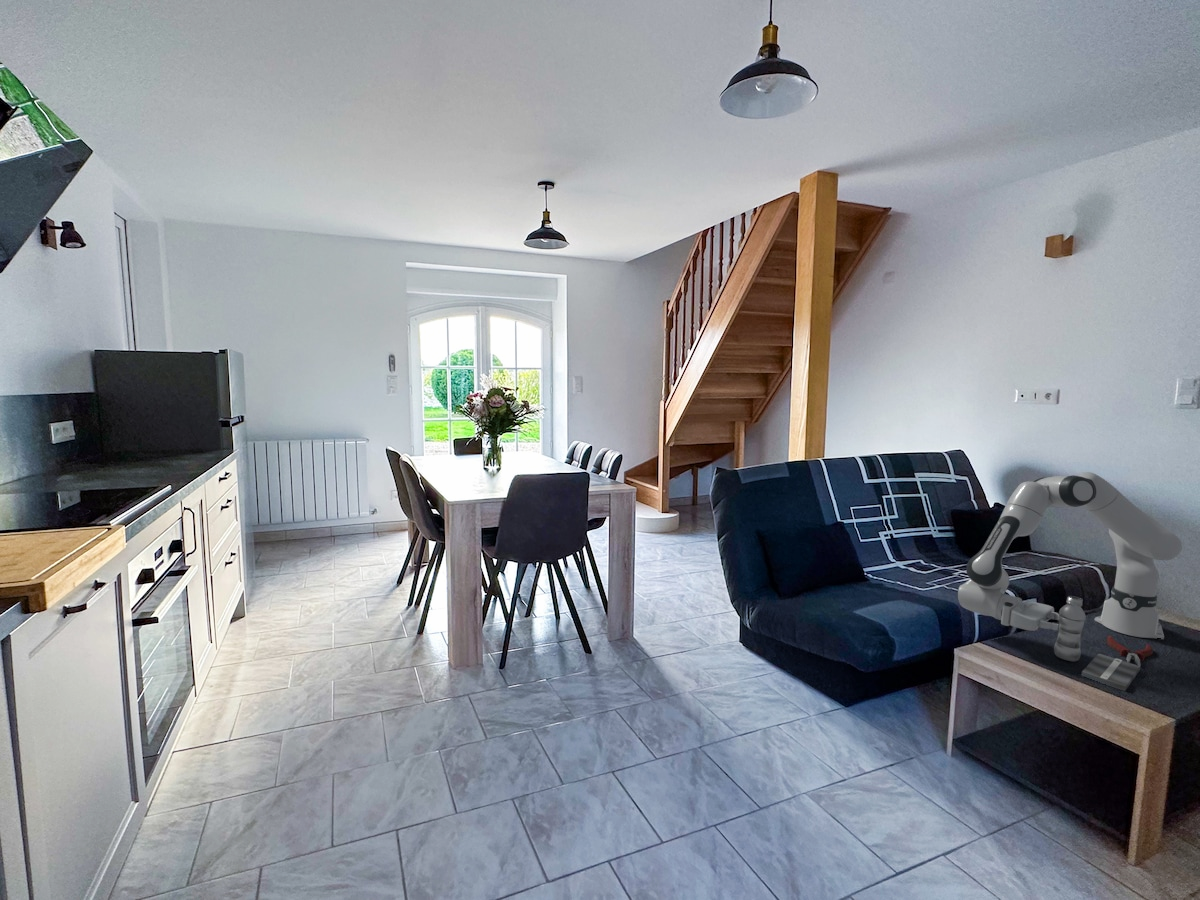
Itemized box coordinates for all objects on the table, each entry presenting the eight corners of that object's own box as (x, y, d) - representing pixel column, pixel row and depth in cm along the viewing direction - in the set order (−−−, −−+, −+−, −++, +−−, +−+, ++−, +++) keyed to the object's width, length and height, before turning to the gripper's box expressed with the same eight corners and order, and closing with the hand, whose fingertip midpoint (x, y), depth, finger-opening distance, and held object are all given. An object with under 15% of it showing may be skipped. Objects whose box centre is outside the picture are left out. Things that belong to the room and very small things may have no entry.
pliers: (1109, 662, 188) (1110, 654, 188) (1105, 640, 204) (1107, 633, 204) (1158, 674, 182) (1160, 666, 181) (1150, 651, 198) (1152, 644, 197)
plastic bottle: (1072, 665, 184) (1082, 603, 181) (1048, 656, 190) (1057, 595, 187) (1083, 661, 187) (1093, 600, 184) (1059, 652, 193) (1068, 592, 190)
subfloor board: (1097, 657, 190) (1098, 652, 190) (1139, 670, 183) (1140, 665, 182) (1081, 676, 178) (1081, 671, 177) (1125, 691, 170) (1126, 685, 170)
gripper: (1021, 611, 206) (1070, 625, 195) (1000, 626, 193) (1052, 641, 182) (1023, 594, 205) (1073, 607, 194) (1002, 607, 192) (1054, 622, 181)
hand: (1062, 624), depth 188 cm, fingers open, 8 cm apart
